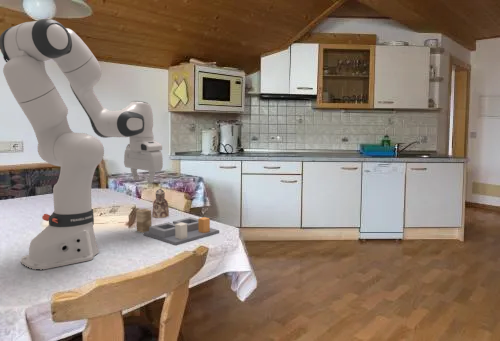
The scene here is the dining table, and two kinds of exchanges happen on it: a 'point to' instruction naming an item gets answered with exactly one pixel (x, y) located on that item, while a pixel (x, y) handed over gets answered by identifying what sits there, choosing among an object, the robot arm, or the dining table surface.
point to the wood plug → (143, 220)
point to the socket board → (189, 234)
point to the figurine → (160, 205)
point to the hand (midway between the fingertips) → (143, 181)
